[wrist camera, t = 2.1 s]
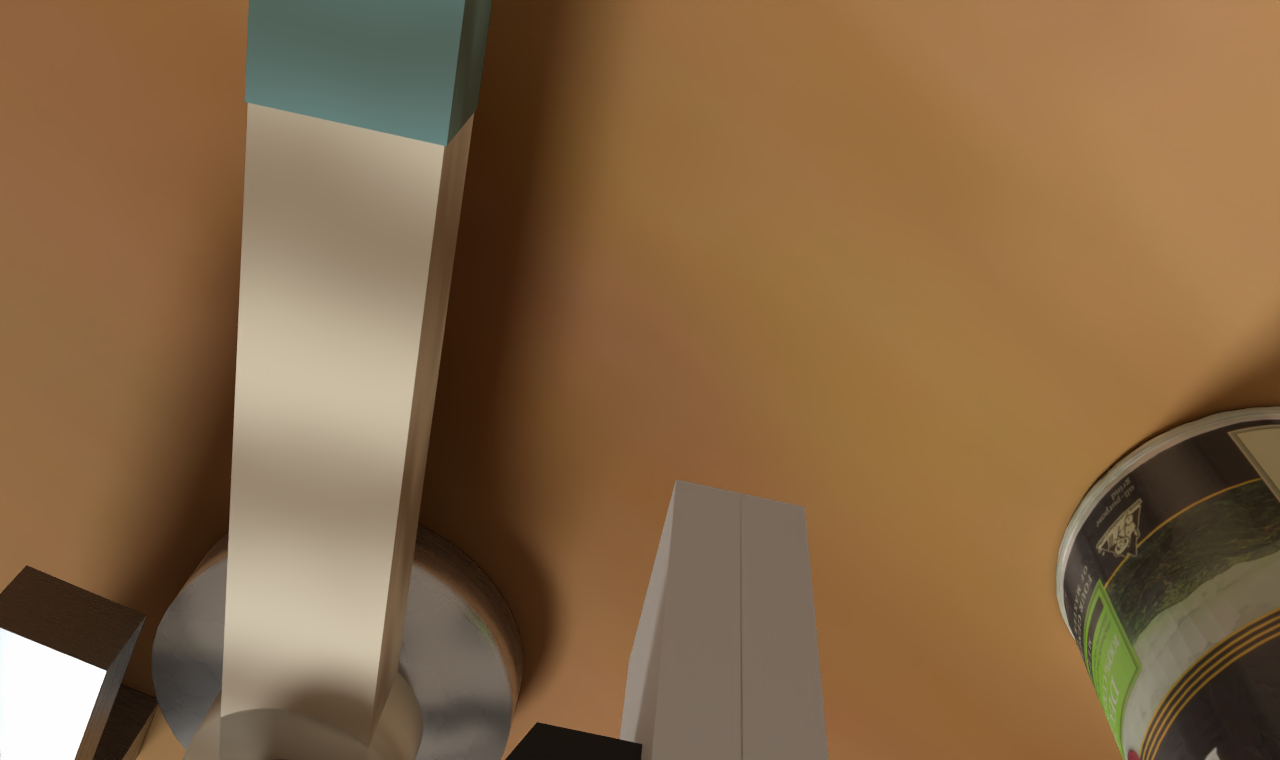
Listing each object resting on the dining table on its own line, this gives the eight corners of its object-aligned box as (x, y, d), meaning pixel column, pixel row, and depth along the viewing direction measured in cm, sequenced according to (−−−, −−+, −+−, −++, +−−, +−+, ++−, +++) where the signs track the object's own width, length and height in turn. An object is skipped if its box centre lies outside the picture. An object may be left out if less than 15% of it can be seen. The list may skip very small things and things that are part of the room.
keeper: (157, 423, 34) (-23, 618, 26) (253, 465, 34) (106, 671, 26) (53, 724, 40) (-119, 959, 32) (137, 757, 40) (-12, 997, 32)
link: (413, 800, 36) (352, 991, 30) (224, 760, 36) (126, 946, 30) (541, -21, 25) (481, 37, 19) (264, -83, 25) (118, -44, 19)
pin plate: (497, 802, 40) (483, 859, 38) (181, 737, 40) (150, 791, 37) (548, 546, 35) (536, 595, 33) (188, 470, 35) (152, 514, 32)
